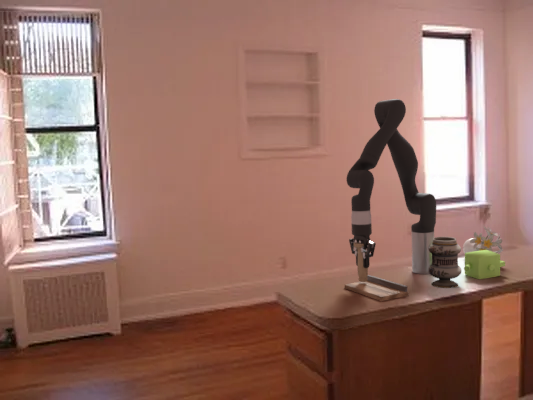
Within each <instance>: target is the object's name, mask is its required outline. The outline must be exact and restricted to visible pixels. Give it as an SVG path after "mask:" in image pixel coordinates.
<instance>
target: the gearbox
mask: <svg viewBox="0 0 533 400" xmlns="http://www.w3.org/2000/svg"><path fill="white" fill-rule="evenodd" d="M492 251H493V250H492ZM492 251H489V250H481V251H473V252H468V253H464V267H463V270H464V274H465V276H468V277H470V278H474V279H477V280H484V279H489V278H490V279H491V278H495V277H500V276H501V267H502V268H503V267H506V261H504V260H501V253H499V254H498V253H495V251H493V252H492Z"/></svg>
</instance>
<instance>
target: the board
mask: <svg viewBox="0 0 533 400" xmlns="http://www.w3.org/2000/svg"><path fill="white" fill-rule="evenodd" d="M367 278H368V279H367V281H366V282H361V281H355V282H351V283H346V284H344V289H346V290H348V291H351V292H354V293H357V294H360V295H363V296H366V297H369V298H371V299H374V300H377V301H380V302H384V301H390V300H394V299H399V298H403V297H407V296H409V291H408V290H409V289H408V286H407V285H404V284H402V283H398V282H394V281H391V280H387V279H384V278H381V277H378V276H374V275H371V274H368V276H367Z"/></svg>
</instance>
